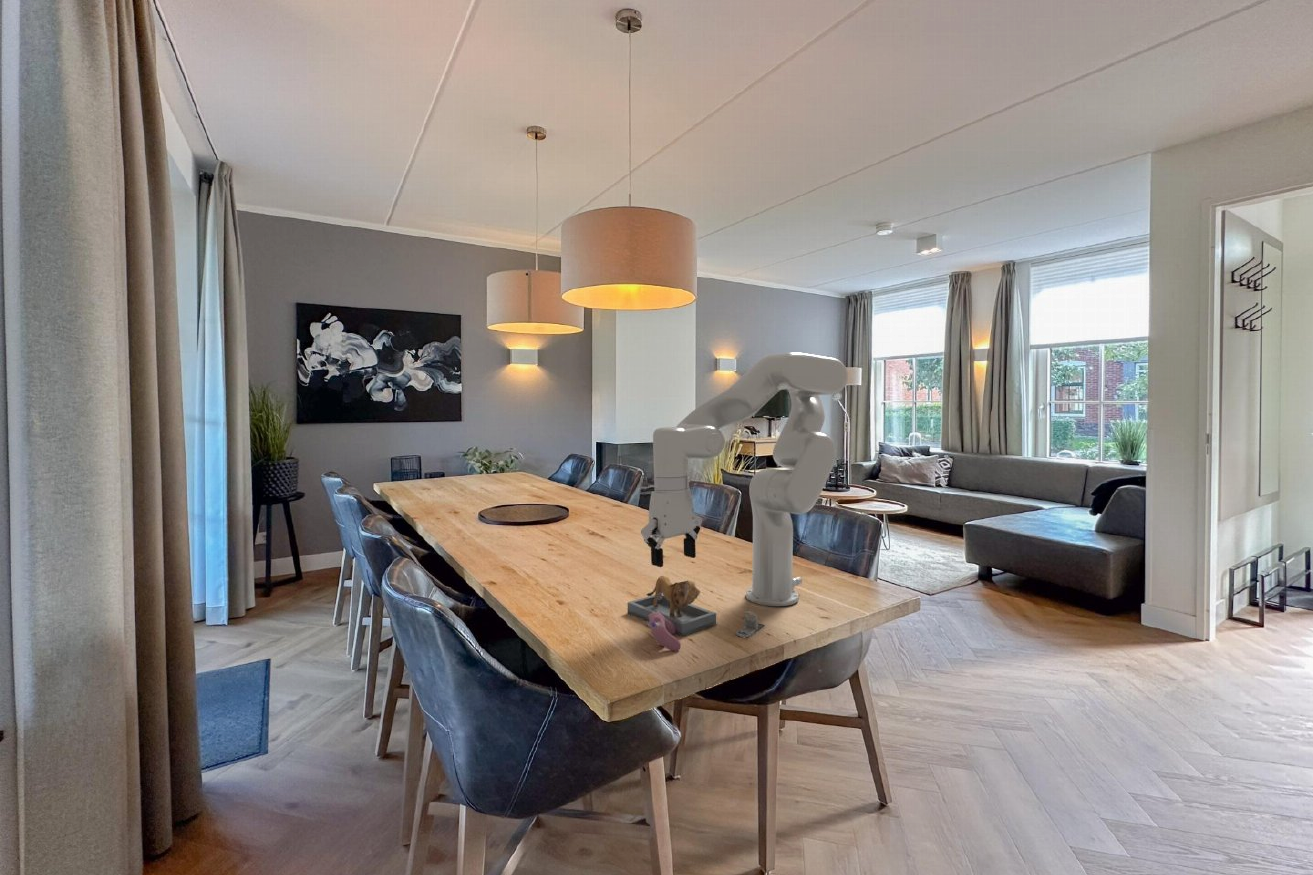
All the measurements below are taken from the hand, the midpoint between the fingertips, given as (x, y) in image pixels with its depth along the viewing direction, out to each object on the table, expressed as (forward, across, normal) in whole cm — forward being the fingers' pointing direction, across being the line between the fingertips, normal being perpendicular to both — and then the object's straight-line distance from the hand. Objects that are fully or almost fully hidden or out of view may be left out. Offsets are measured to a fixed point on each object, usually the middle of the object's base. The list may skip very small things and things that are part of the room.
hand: (673, 561), depth 129 cm
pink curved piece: (+13, +11, +8) cm, 19 cm away
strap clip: (+14, -7, +16) cm, 22 cm away
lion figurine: (+12, 0, -1) cm, 12 cm away
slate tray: (+13, +1, 0) cm, 13 cm away
